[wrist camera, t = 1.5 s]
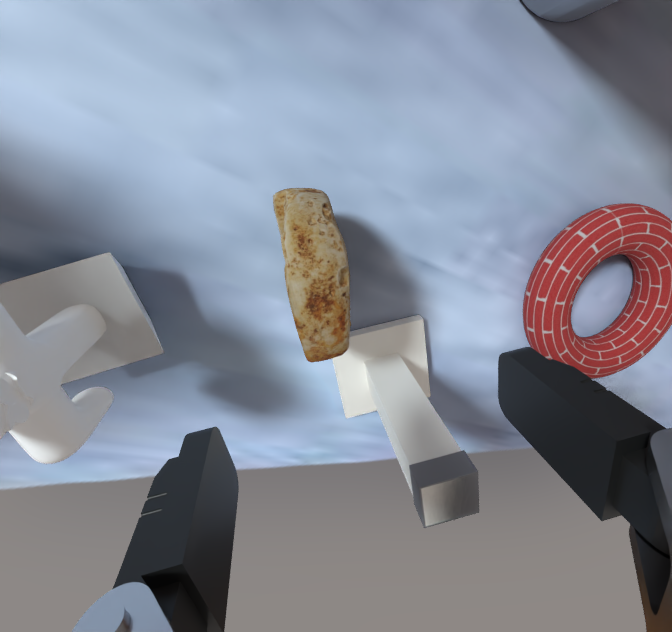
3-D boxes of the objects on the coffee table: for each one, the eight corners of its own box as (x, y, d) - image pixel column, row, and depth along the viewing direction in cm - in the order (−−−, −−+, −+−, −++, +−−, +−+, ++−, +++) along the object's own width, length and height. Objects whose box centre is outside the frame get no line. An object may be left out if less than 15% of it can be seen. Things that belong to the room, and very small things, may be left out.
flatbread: (340, 314, 29) (370, 382, 20) (295, 322, 29) (305, 395, 20) (324, 179, 25) (352, 189, 16) (271, 186, 25) (269, 200, 16)
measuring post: (418, 314, 30) (522, 424, 18) (426, 390, 34) (518, 528, 21) (327, 336, 30) (366, 466, 17) (344, 411, 33) (387, 566, 20)
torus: (511, 226, 29) (541, 234, 26) (671, 180, 30) (720, 182, 26) (516, 384, 36) (540, 406, 32) (647, 343, 36) (684, 361, 33)
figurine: (93, 369, 28) (-82, 569, 14) (17, 255, 24) (-327, 378, 10) (183, 342, 28) (97, 512, 14) (123, 224, 24) (-74, 304, 10)
